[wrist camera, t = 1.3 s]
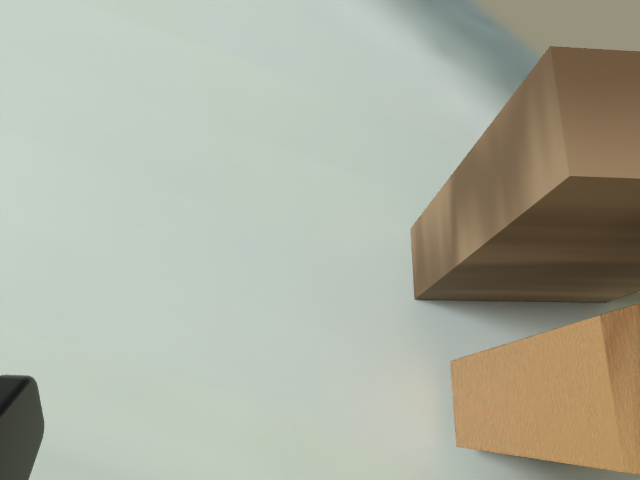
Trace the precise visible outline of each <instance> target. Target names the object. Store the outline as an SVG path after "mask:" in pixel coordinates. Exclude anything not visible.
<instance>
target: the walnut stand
mask: <svg viewBox="0 0 640 480" xmlns="http://www.w3.org/2000/svg"><path fill="white" fill-rule="evenodd" d="M411 241H412V260H413V278H414V297H415V299H425V300H482V301H538V302H595V303H605V302H608V301H611V300H614V299H617V298H620V297H623V296H626V295H629V294H631V293H634V292H637V291H640V52H637V51H620V50H603V49H586V48H570V47H553V46H550V47H549V49H548V50H547V51H546V52H545V54H544V55H543V56H542V58H541V59H540V60H539V62H538V63H537V64H536V66H535V67H534V68H533V69H532V71H531V72H530V73H529V75H528V76H527V77H526V79H525V80H524V81H523V83H522V84H521V85H520V86H519V88H518V89H517V90H516V92H515V93H514V94H513V96H512V97H511V98H510V100H509V101H508V102H507V103H506V105H505V106H504V107H503V109H502V110H501V111H500V113H499V114H498V115H497V117H496V118H495V119H494V120H493V122H492V123H491V124H490V126H489V127H488V128H487V130H486V131H485V132H484V134H483V135H482V136H481V137H480V139H479V140H478V141H477V143H476V144H475V145H474V147H473V148H472V149H471V150H470V152H469V153H468V154H467V156H466V157H465V158H464V160H463V161H462V162H461V164H460V165H459V166H458V167H457V169H456V170H455V171H454V173H453V174H452V175H451V177H450V178H449V179H448V181H447V182H446V183H445V184H444V186H443V187H442V188H441V190H440V191H439V192H438V194H437V195H436V196H435V198H434V199H433V200H432V201H431V203H430V204H429V205H428V207H427V208H426V209H425V211H424V212H423V213H422V215H421V216H420V217H419V218H418V220H417V221H416V222H415V224H414V225H413V226H412V228H411Z"/></svg>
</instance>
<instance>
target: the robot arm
mask: <svg viewBox="0 0 640 480" xmlns="http://www.w3.org/2000/svg"><path fill="white" fill-rule="evenodd" d="M43 434H44V418H43V413H42V407H41V402H40V396H39V391H38V386H37V383H36V381H35V379H34V378H33V377H31V376H24V375H1V376H0V480H29V477H30V474H31V471H32V468H33V465H34V462H35V459H36V456H37V453H38V450H39V448H40V445H41V442H42V438H43Z"/></svg>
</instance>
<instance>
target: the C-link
mask: <svg viewBox="0 0 640 480" xmlns="http://www.w3.org/2000/svg"><path fill="white" fill-rule="evenodd" d="M450 362H451V376H452V390H453V404H454V418H455V432H456V446H457V447H462V448H469V449H475V450H482V451H488V452H495V453H501V454H508V455H514V456H521V457H527V458H534V459H540V460H547V461H554V462H560V463H567V464H573V465H580V466H586V467H593V468H599V469H606V470H612V471H619V472H625V473H632V474H638V475H640V304H635V305H632V306H628V307H625V308H622V309H619V310H615V311H612V312H609V313H606V314H602V315H599V316H596V317H592V318H589V319H586V320H583V321H579V322H576V323H573V324H570V325H566V326H563V327H560V328H557V329H553V330H550V331H547V332H543V333H540V334H537V335H534V336H530V337H527V338H524V339H521V340H517V341H514V342H511V343H508V344H504V345H501V346H498V347H494V348H491V349H488V350H485V351H481V352H478V353H475V354H472V355H468V356H465V357H462V358H459V359H455V360H452V361H450Z"/></svg>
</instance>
